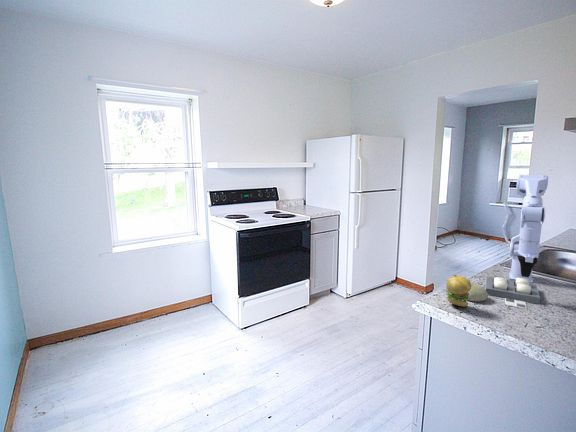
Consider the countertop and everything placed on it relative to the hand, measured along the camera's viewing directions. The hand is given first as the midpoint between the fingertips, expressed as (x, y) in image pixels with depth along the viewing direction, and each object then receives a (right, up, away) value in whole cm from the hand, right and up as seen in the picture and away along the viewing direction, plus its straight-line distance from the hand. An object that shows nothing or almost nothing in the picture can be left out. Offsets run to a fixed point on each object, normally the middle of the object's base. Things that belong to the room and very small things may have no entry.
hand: (525, 276), depth 114 cm
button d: (0, -6, +1) cm, 6 cm away
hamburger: (-28, -10, -5) cm, 30 cm away
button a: (-2, -6, +11) cm, 13 cm away
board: (-1, -7, +6) cm, 10 cm away
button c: (+4, -5, +7) cm, 10 cm away
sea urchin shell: (-18, -9, +2) cm, 20 cm away
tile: (-6, -9, -4) cm, 12 cm away
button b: (-6, -6, +5) cm, 10 cm away
